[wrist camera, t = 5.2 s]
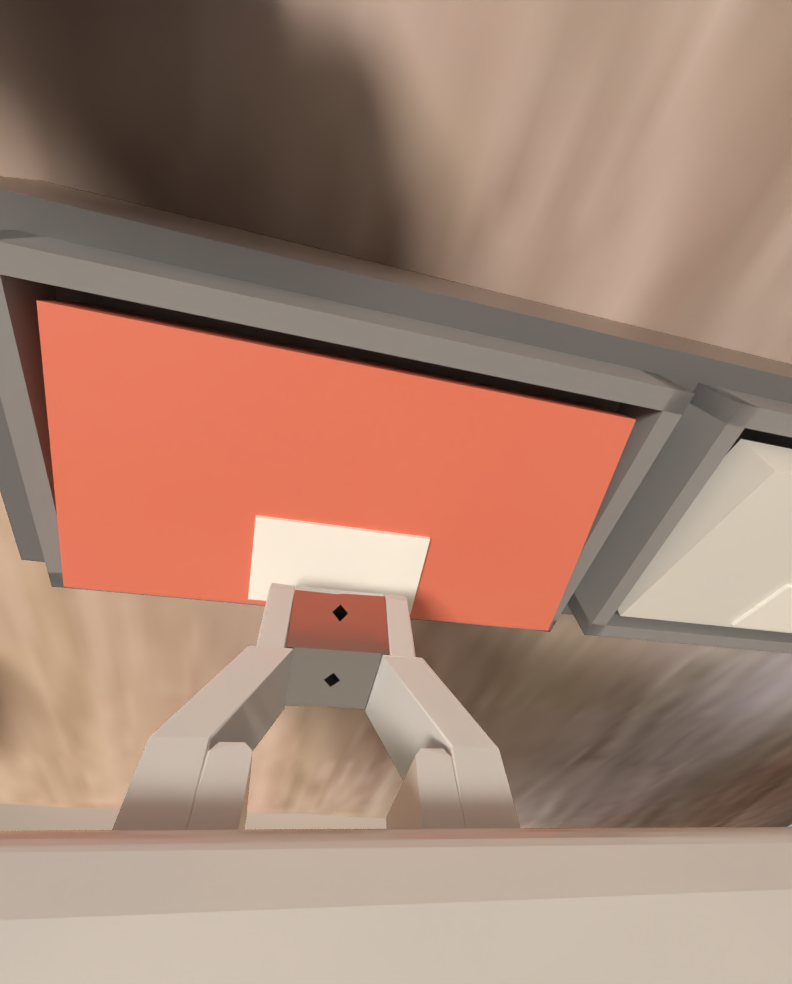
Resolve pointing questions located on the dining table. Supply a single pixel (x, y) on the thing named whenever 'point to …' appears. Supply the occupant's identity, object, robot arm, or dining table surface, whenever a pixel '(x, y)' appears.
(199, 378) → the red rocker
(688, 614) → the cream rocker
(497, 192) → the dining table surface
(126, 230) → the rocker switch panel
